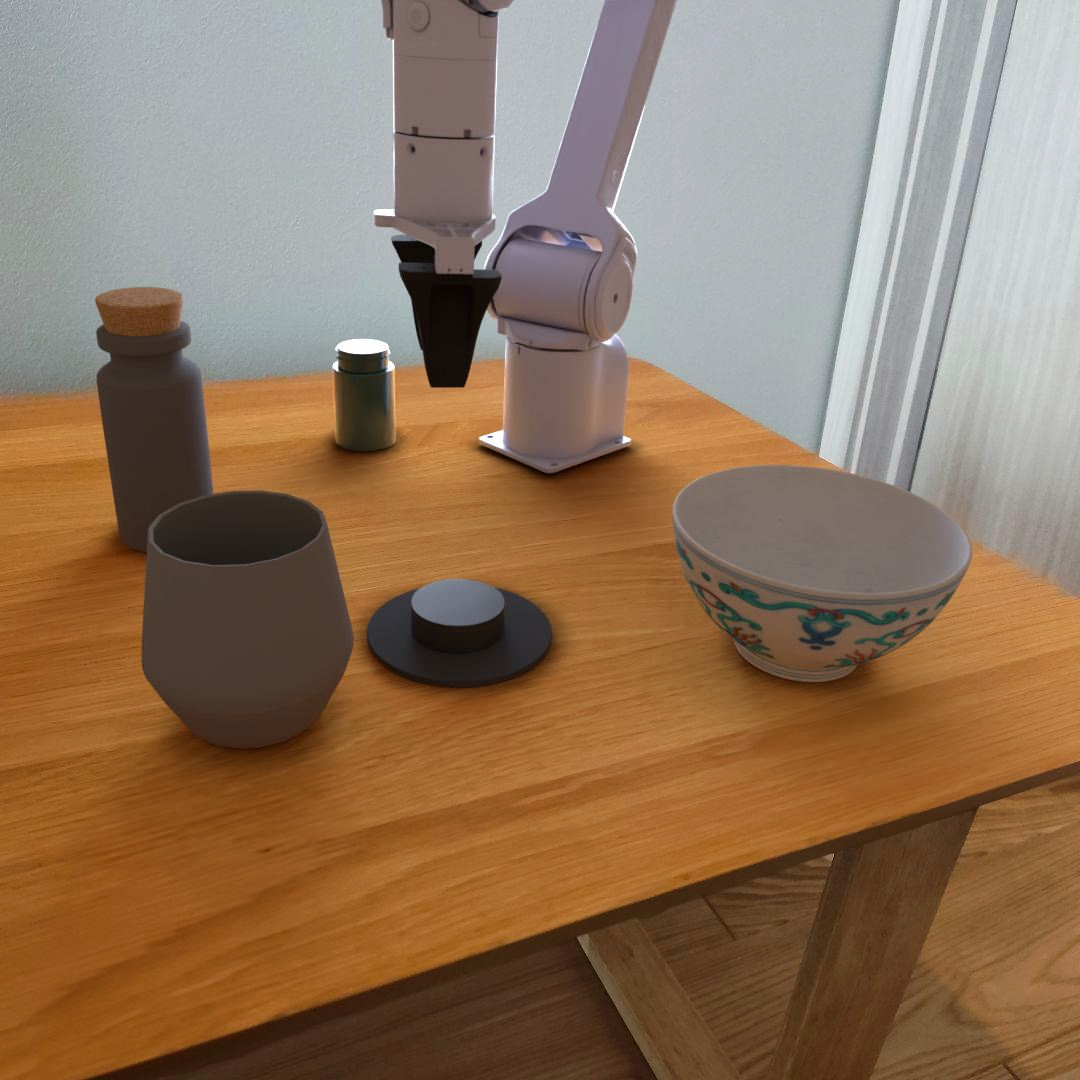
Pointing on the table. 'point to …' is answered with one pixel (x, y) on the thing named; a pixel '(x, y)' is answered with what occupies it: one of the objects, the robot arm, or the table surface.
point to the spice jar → (364, 395)
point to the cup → (244, 616)
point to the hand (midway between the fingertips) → (441, 366)
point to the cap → (457, 615)
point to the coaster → (494, 664)
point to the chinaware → (815, 564)
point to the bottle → (150, 408)
